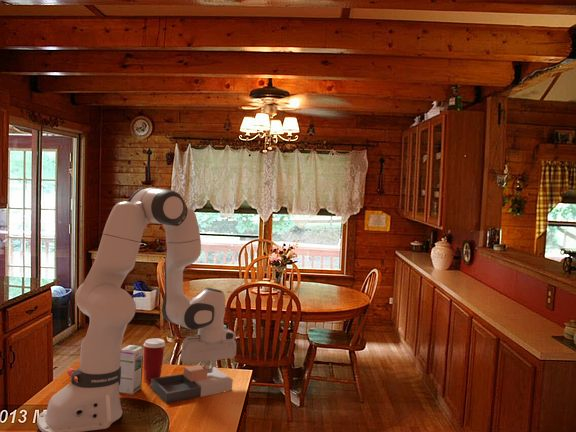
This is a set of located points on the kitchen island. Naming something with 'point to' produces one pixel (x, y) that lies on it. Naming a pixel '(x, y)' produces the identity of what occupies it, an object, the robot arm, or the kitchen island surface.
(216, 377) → the flat white box
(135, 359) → the syrup box
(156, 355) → the paper cup
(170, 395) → the tray
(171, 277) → the robot arm
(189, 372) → the tile
